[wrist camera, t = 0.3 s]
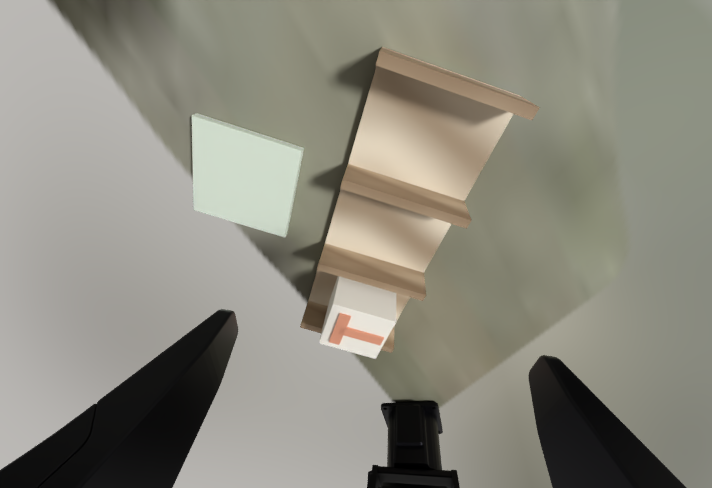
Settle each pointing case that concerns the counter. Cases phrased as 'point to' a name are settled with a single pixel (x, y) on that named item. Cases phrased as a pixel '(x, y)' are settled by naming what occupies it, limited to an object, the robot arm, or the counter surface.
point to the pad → (243, 175)
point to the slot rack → (408, 177)
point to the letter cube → (358, 317)
